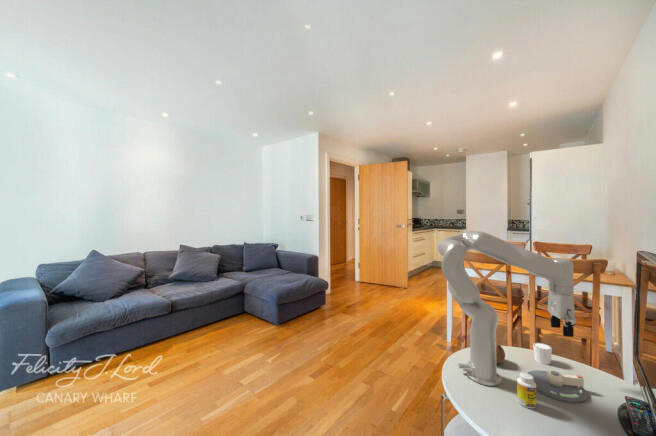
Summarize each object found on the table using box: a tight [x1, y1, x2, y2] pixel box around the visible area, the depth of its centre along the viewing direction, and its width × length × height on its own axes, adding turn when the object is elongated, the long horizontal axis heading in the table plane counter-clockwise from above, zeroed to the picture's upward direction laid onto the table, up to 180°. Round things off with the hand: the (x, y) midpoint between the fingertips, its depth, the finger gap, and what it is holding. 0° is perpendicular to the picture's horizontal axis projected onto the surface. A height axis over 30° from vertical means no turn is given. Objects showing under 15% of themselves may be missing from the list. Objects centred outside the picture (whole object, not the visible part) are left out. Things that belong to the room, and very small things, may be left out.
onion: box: [496, 342, 506, 364], centre depth 122 cm, size 10×9×10 cm
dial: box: [527, 369, 588, 404], centre depth 103 cm, size 18×18×2 cm
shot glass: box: [532, 342, 553, 365], centre depth 121 cm, size 7×7×7 cm
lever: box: [547, 370, 585, 388], centre depth 102 cm, size 11×5×4 cm, turn 75°
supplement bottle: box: [516, 372, 537, 409], centre depth 95 cm, size 6×6×10 cm
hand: (561, 331), depth 108 cm, fingers open, 7 cm apart
